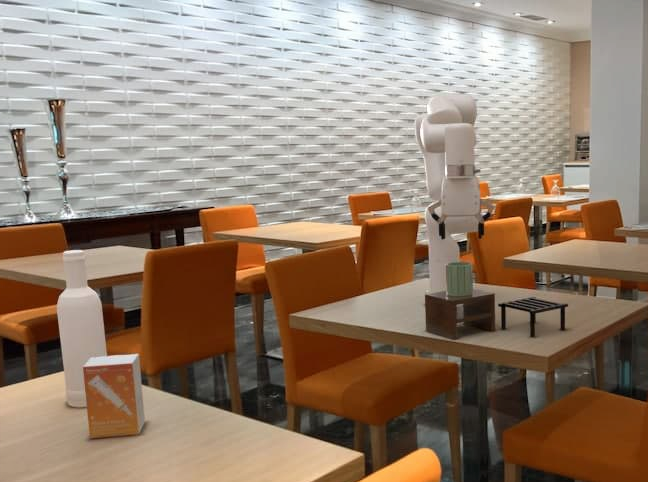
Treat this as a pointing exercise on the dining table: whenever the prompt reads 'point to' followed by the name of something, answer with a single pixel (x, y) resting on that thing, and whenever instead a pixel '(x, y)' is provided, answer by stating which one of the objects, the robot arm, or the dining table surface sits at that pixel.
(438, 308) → the shelf
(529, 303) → the rack
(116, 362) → the small box
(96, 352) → the bottle
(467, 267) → the cup
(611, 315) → the dining table surface
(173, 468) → the dining table surface
